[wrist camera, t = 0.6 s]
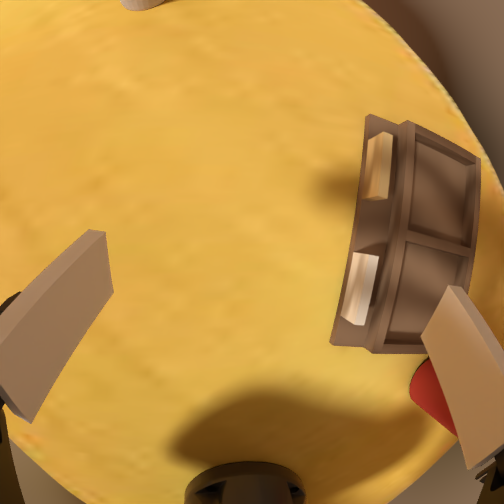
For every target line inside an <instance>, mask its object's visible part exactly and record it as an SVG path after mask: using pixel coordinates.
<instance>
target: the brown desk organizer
mask: <svg viewBox="0 0 504 504" xmlns="http://www.w3.org/2000/svg"><path fill="white" fill-rule="evenodd" d="M480 190H481V159H480V158H478V157H477V156H475V155H473V154H472V153H470V152H468V151H467V150H465V149H463V148H461V147H460V146H458V145H456V144H454V143H452V142H451V141H449V140H447V139H445V138H443V137H441V136H439V135H437V134H435V133H433V132H431V131H429V130H427V129H425V128H423V127H421V126H419V125H417V124H415V123H413V122H411V121H408V120H407V121H405V122H403V123H401V124H399V125H397V124H394V123H392V122H390V121H387V120H385V119H382V118H380V117H377V116H375V115H372V114H369V115H368V116H366V118H365V131H364V143H363V153H362V163H361V172H360V181H359V189H358V196H357V204H356V211H355V217H354V224H353V230H352V236H351V242H350V248H349V254H348V259H347V264H346V270H345V275H344V280H343V285H342V289H341V294H340V299H339V303H338V308H337V312H336V317H335V321H334V325H333V329H332V333H331V337H330V341H329V342H330V343H331V344H332V345H334V346H351V347H364V348H366V349H367V350H368V351H370V352H371V353H373V354H428V353H427V350H426V348H425V346H424V343H423V341H422V339H421V337H420V336H421V335H422V333H423V331H424V330H425V328H426V326H427V324H428V323H429V321H430V319H431V317H432V315H433V314H434V312H435V310H436V308H437V306H438V304H439V302H440V301H441V299H442V297H443V295H444V293H445V291H446V289H447V287H448V285H452V286H459V287H462V288H463V290H464V291H465V292H466V294H467V295H468V291H469V286H470V281H471V275H472V269H473V263H474V257H475V249H476V242H477V233H478V223H479V210H480Z"/></svg>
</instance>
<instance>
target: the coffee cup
mask: <svg viewBox="0 0 504 504" xmlns="http://www.w3.org/2000/svg"><path fill="white" fill-rule="evenodd" d="M120 1H121V3H122V5H123V6H124V7H125V8H126V9H128V10H133V11H141V10H146V9H150V8H153V7H155V6H157V5H159V4H161V3H162V2H164V1H165V0H120Z"/></svg>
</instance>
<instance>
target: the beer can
mask: <svg viewBox="0 0 504 504" xmlns="http://www.w3.org/2000/svg"><path fill="white" fill-rule="evenodd" d="M409 393H410V397H411V399H412V400H413V401H414V402H415V403H416V404H417V405H419V406H420V407H421V408H422V409H423V410H425V411H426V412H427V413H428V414H429V415H431V416H432V417H433V418H434V419H436V420H437V421H438V422H439V423H440V424H442V425H443V426H444V427H445V428H447V429H448V430H449V431H450V432H452V433H453V434H454V435H455V436H456V437H458V435H457V431H456V428H455V425H454V422H453V419H452V416H451V413H450V410H449V407H448V404H447V401H446V399H445V396H444V393H443V390H442V388H441V385H440V382H439V380H438V377H437V375H436V372H435V370H434V367H433V365H432V362H431V360H430V359H429V360H427V361H426V362H424V363H423V364H422V365H421V366H420V367H419V368H418V370H417V371H416V372H415V374H414V376H413V378H412V380H411V383H410V391H409Z"/></svg>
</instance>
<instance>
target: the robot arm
mask: <svg viewBox="0 0 504 504" xmlns="http://www.w3.org/2000/svg"><path fill="white" fill-rule="evenodd" d="M113 293H114V291H113V285H112V279H111V272H110V265H109V258H108V249H107V241H106V232H102V231H96V230H90V229H89V230H88V231H87V232H85V233H84V234H83V235H82V236H81V237H80V238H78V239H77V240H76V241H75V242H74V243H73V244H72V245H70V246H69V247H68V248H67V249H66V250H65V251H64V252H63V253H62V254H60V255H59V256H58V257H57V258H56V259H55V260H54V261H53V262H52V263H51V264H50V265H49V266H48V267H47V268H46V269H44V270H43V271H42V272H41V273H40V274H39V275H38V276H37V277H36V278H35V279H34V280H33V281H32V282H31V283H30V284H29V285H28V286H27V287H26V288H25V289H24V290H23V291H22V292H20V291H19V292H18V293H16V294H14V295H13V296H11V297H10V298H8V299H7V300H6V301H5V302H4V303H3V304H2V305H1V306H0V504H25V502H24V499H23V496H22V492H21V489H20V486H19V482H18V478H17V475H16V471H15V466H14V462H13V458H12V453H11V448H10V444H9V437H8V431H7V425H6V417H5V414H4V411H3V409H2V407H3V405H4V404H6V405H7V406H8V407H9V409H10V410H11V411H12V412H13V413H14V414H15V415H17V416H18V417H20V418H22V419H23V420H25V421H27V422H29V423H30V424H32V422H33V420H34V418H35V416H36V414H37V412H38V411H39V409H40V407H41V405H42V403H43V402H44V400H45V398H46V396H47V395H48V393H49V391H50V389H51V388H52V386H53V384H54V383H55V381H56V379H57V378H58V376H59V374H60V373H61V371H62V369H63V368H64V366H65V364H66V363H67V361H68V360H69V358H70V356H71V355H72V353H73V352H74V350H75V349H76V347H77V345H78V344H79V342H80V341H81V339H82V338H83V336H84V335H85V333H86V332H87V330H88V329H89V327H90V326H91V324H92V323H93V321H94V320H95V318H96V317H97V316H98V314H99V313H100V311H101V310H102V308H103V307H104V305H105V304H106V303H107V301H108V300H109V298H110V297H111V296H112V294H113ZM420 337H421V339H422V341H423V343H424V346H425V348H426V350H427V353H428V355H429V357H430V360H431V362H432V365H433V367H434V370H435V372H436V375H437V377H438V380H439V382H440V385H441V388H442V390H443V393H444V396H445V399H446V401H447V404H448V407H449V410H450V413H451V416H452V419H453V422H454V425H455V428H456V431H457V435H458V438H459V441H460V445H461V448H462V452H463V455H464V459H465V463H466V466H467V470H470V469H473V468H476V467H479V466H482V465H483V464H485V463H486V462H488V461H489V460H490V459H492V458H493V457H495V460H496V461H495V462H493V463H492V464H491V465H490V466H488V467H487V468H485V469H484V470H482V471H481V472H480V473H478V474H477V476H476V478H475V479H476V480H477V479H479V478H480V477H482V476H483V475H485V474H486V473H487V475H486V476H484V477H483V478H482V479H481V480H480V482H482V483H484V486H483V489H482V491H481V494H480V496H479V499H478V502H477V504H504V350H503V349H502V347H501V345H500V344H499V342H498V340H497V339H496V337H495V336H494V334H493V332H492V331H491V329H490V328H489V326H488V324H487V323H486V321H485V320H484V318H483V317H482V315H481V314H480V312H479V311H478V309H477V308H476V307H475V305H474V304H473V302H472V301H471V299H470V298H469V297H468V295H467V294H466V292H465V291H464V290H463V288H462V287H459V286H452V285H448V287H447V289H446V291H445V293H444V295H443V297H442V299H441V301H440V302H439V304H438V306H437V308H436V310H435V312H434V314H433V315H432V317H431V319H430V321H429V323H428V324H427V326H426V328H425V330H424V331H423V333H422V335H421V336H420ZM306 499H307V498H306V492H305V489H304V487H303V484H302V482H301V480H300V478H299V477H298V476H297V475H296V474H295V473H294V472H293V471H291V470H289V469H287V468H285V467H282V466H279V465H276V464H271V463H264V462H239V463H232V464H226V465H222V466H218V467H215V468H212V469H210V470H207V471H205V472H203V473H201V474H200V475H198V476H197V477H195V478H194V479H193V480H192V481H191V482H190V483H189V484H188V486H187V488H186V491H185V501H184V504H306Z"/></svg>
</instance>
